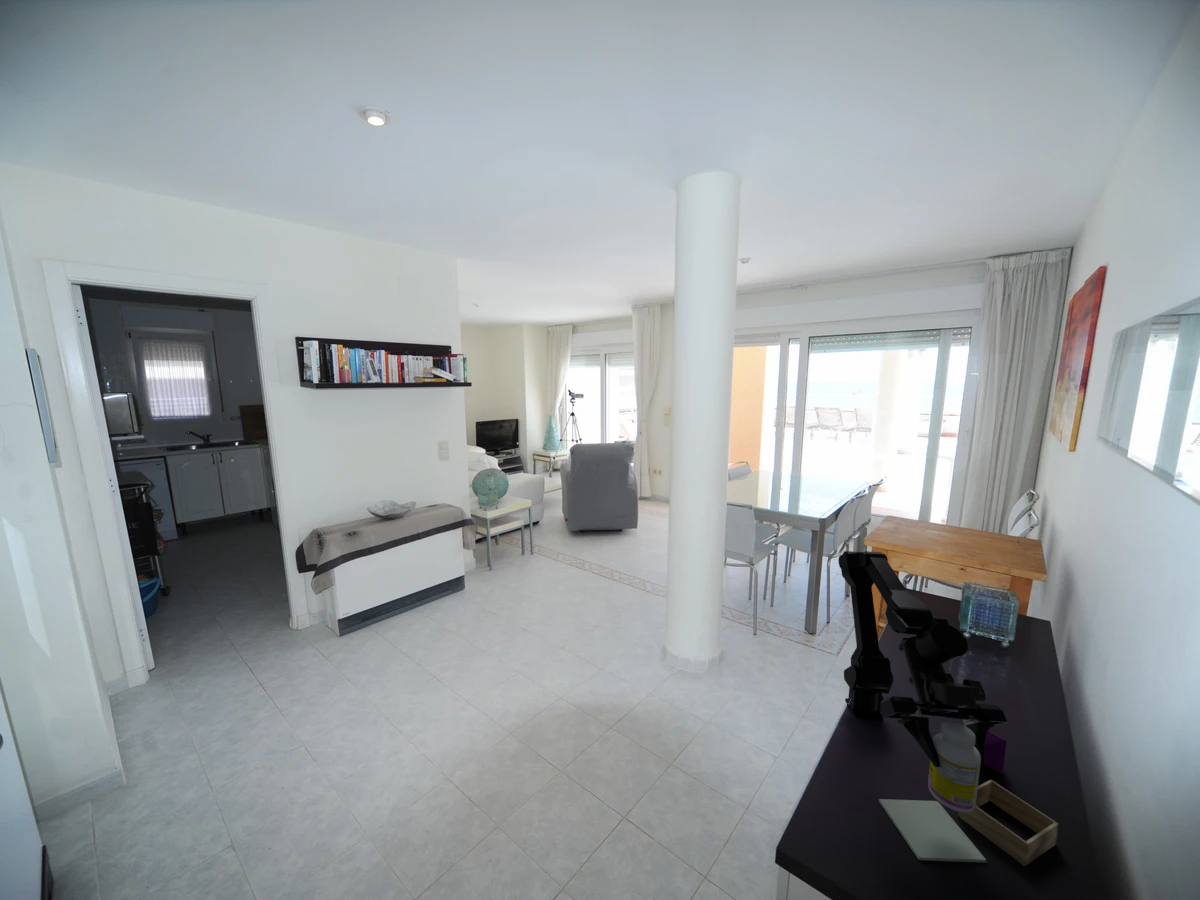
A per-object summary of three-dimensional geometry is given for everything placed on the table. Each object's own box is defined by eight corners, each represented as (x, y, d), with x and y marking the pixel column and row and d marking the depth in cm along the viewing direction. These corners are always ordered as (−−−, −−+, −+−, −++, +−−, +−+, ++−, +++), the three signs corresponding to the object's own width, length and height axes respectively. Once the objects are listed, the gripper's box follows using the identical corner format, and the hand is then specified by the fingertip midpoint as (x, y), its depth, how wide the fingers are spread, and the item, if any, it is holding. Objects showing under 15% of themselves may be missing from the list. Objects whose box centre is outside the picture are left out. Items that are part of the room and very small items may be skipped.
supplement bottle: (937, 775, 83) (944, 711, 82) (981, 803, 77) (990, 735, 76) (920, 791, 80) (927, 724, 78) (965, 821, 74) (973, 750, 73)
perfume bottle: (1009, 768, 94) (968, 805, 85) (966, 744, 100) (924, 776, 91) (1013, 735, 93) (972, 769, 84) (969, 713, 99) (927, 743, 91)
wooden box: (1024, 866, 73) (1027, 844, 73) (957, 815, 82) (959, 795, 82) (1055, 844, 77) (1058, 823, 77) (988, 798, 86) (990, 779, 86)
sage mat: (918, 860, 74) (919, 857, 74) (878, 801, 85) (879, 799, 85) (985, 862, 74) (986, 859, 74) (937, 803, 85) (937, 801, 85)
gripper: (894, 655, 81) (924, 759, 71) (1007, 664, 79) (1053, 772, 69) (869, 670, 90) (893, 764, 80) (970, 678, 87) (1007, 776, 78)
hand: (959, 769), depth 77 cm, fingers closed on supplement bottle, 7 cm apart
